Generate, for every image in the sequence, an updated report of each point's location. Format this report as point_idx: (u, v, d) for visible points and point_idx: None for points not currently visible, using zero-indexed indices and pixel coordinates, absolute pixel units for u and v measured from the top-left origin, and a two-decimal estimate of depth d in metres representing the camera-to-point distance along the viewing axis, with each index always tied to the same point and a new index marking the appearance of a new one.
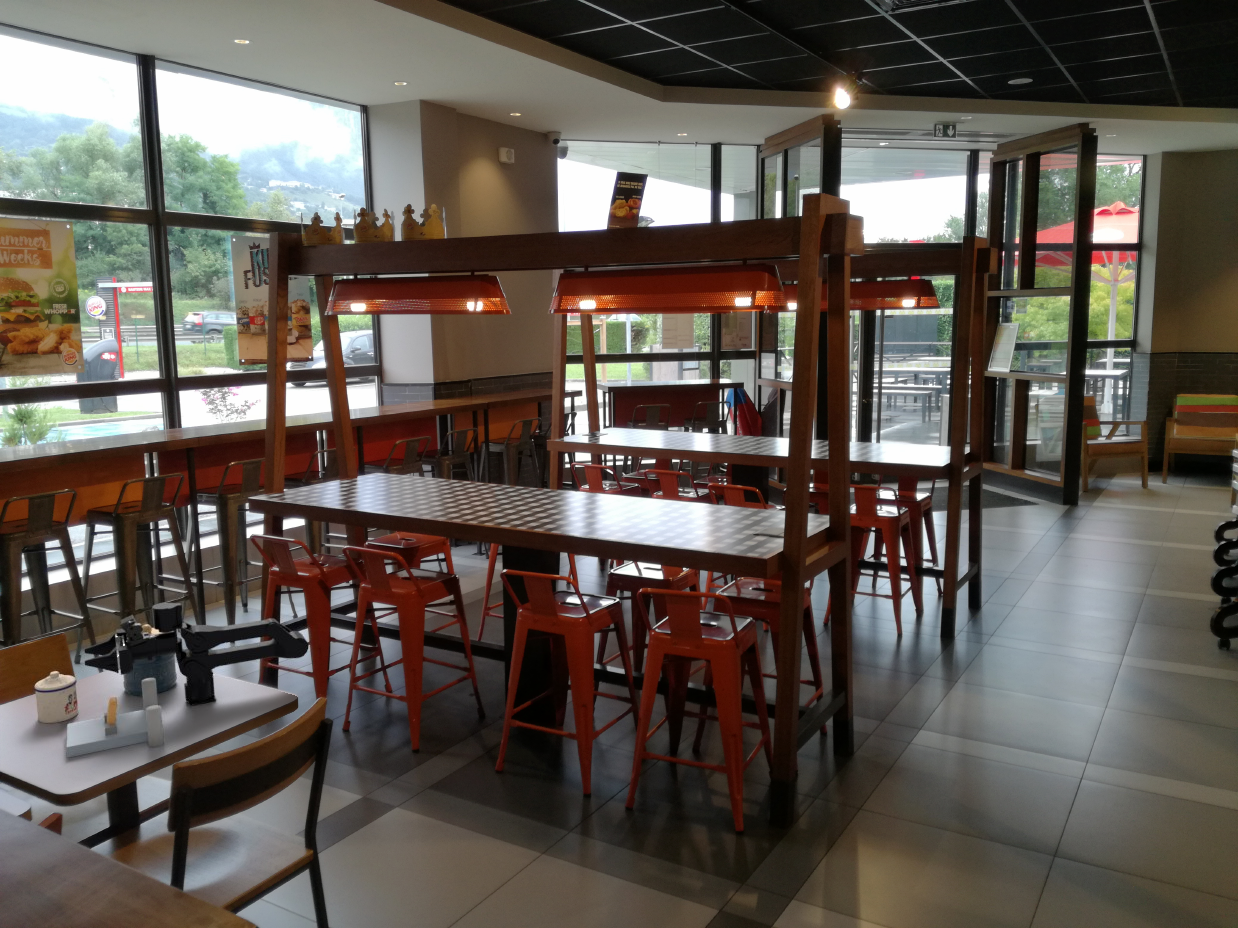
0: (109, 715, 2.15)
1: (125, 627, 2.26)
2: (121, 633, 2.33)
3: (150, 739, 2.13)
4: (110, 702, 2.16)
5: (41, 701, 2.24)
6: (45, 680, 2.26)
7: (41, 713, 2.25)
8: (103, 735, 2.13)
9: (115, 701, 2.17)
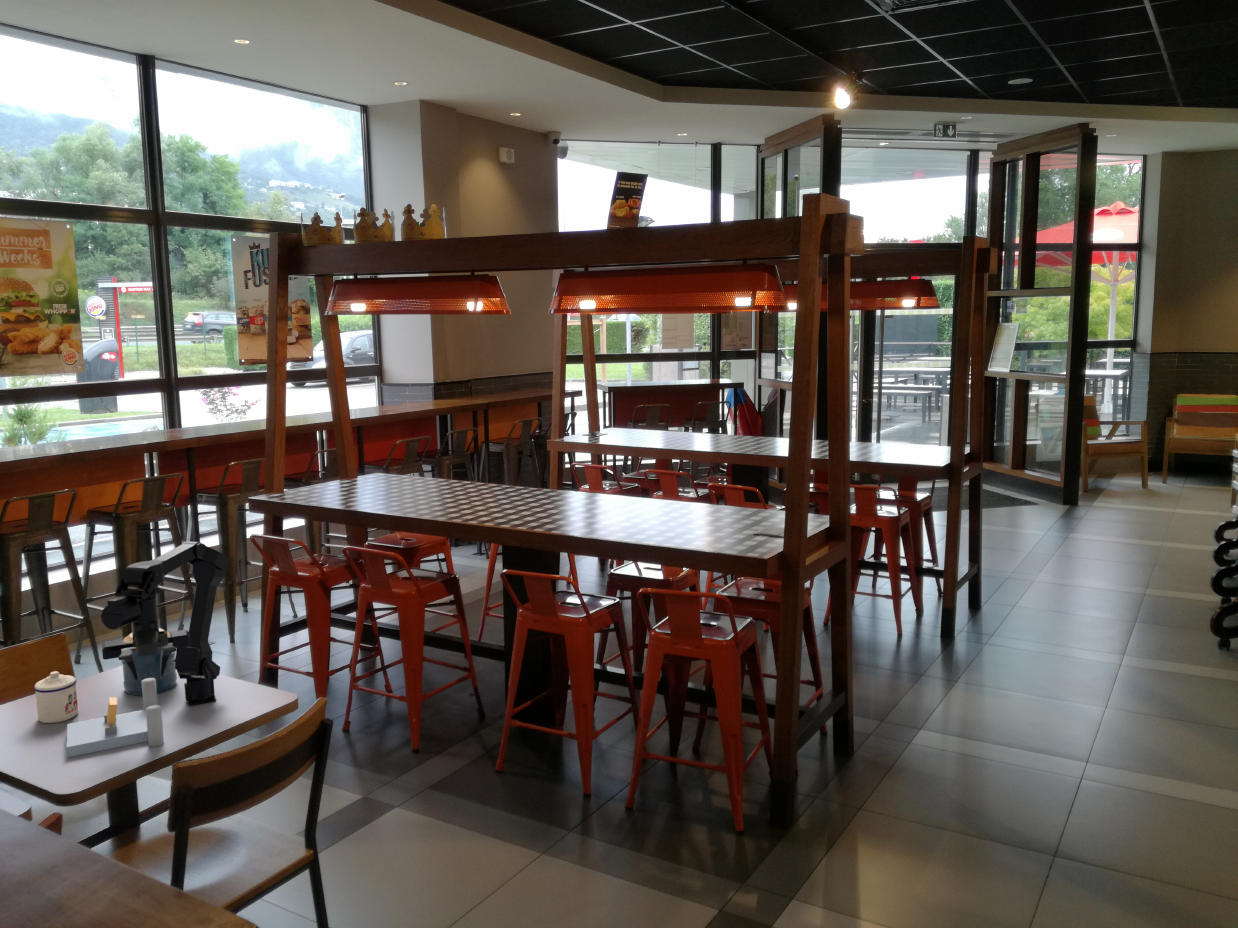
0: (109, 715, 2.15)
1: None
2: (121, 652, 2.14)
3: (150, 739, 2.13)
4: (110, 702, 2.16)
5: (41, 701, 2.24)
6: (45, 680, 2.26)
7: (41, 713, 2.25)
8: (103, 735, 2.13)
9: (115, 701, 2.17)
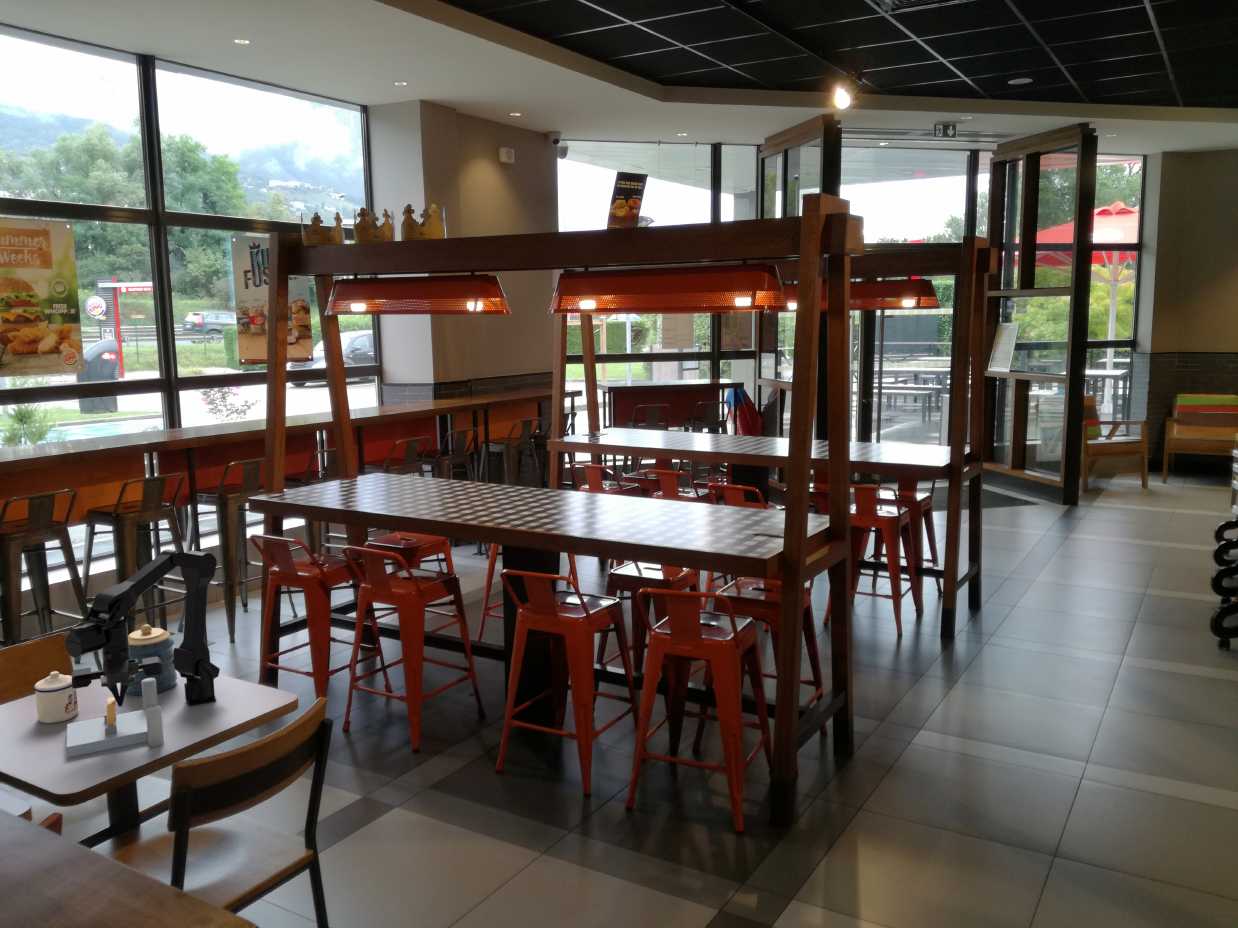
0: (108, 715, 2.15)
1: (130, 676, 2.12)
2: None
3: (150, 739, 2.13)
4: (108, 702, 2.16)
5: (41, 701, 2.24)
6: (45, 680, 2.26)
7: (41, 713, 2.25)
8: (103, 735, 2.13)
9: (113, 701, 2.17)
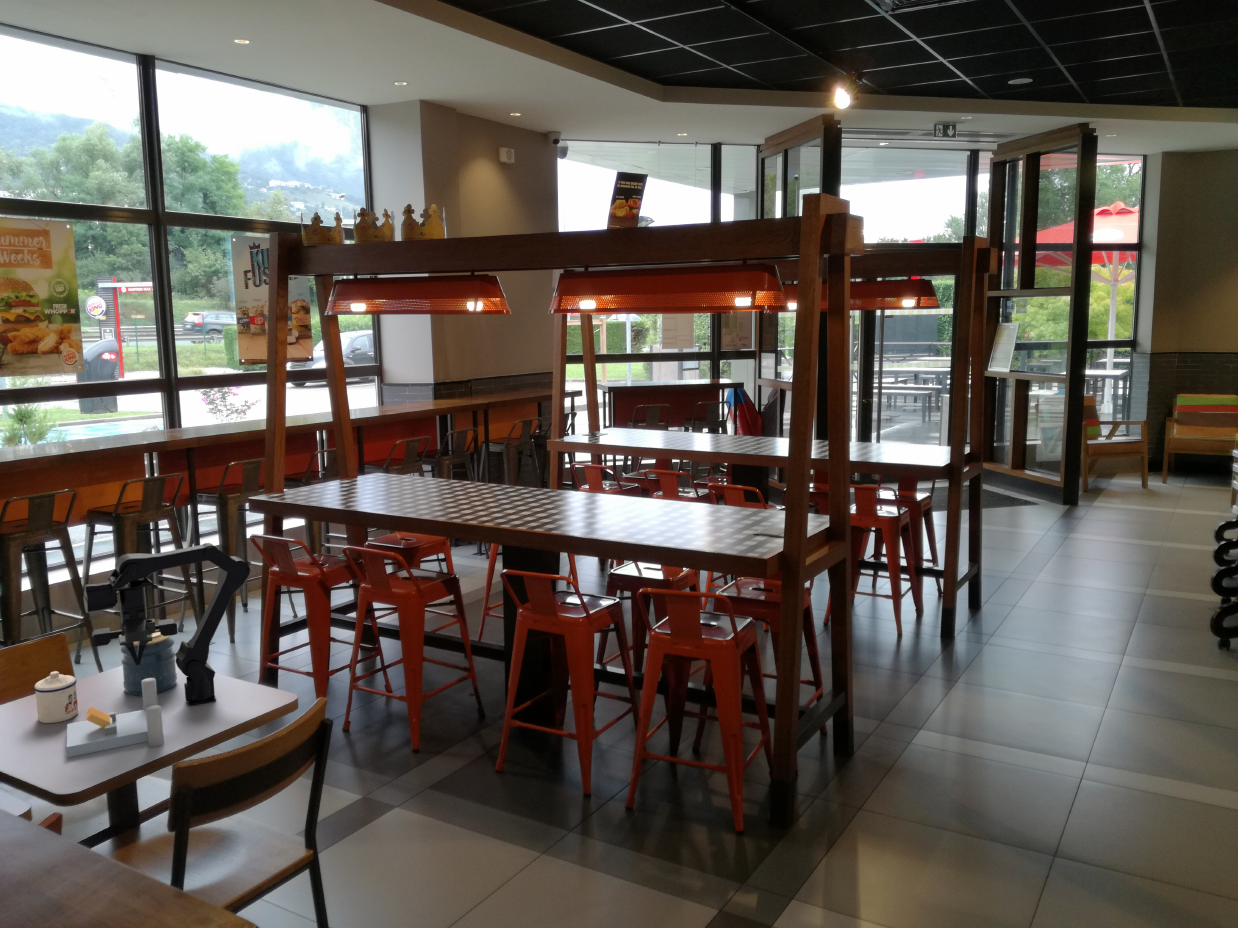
0: (97, 723, 2.14)
1: (147, 635, 2.23)
2: (110, 639, 2.23)
3: (150, 739, 2.13)
4: (87, 716, 2.14)
5: (41, 701, 2.24)
6: (45, 680, 2.26)
7: (41, 713, 2.25)
8: (103, 735, 2.13)
9: (90, 711, 2.15)
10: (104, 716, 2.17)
